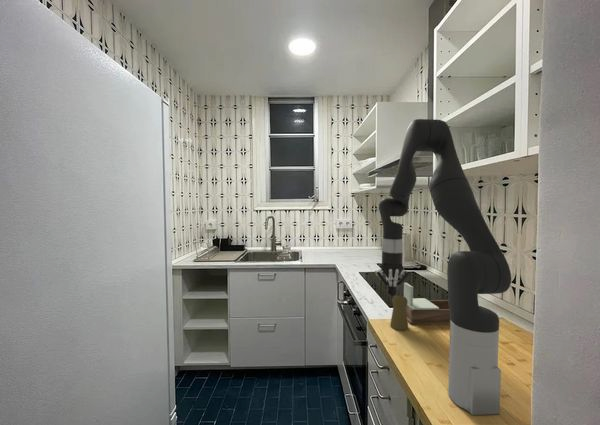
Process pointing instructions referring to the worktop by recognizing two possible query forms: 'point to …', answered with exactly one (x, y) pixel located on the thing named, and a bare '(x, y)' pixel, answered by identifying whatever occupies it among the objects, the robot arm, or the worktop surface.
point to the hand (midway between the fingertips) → (391, 295)
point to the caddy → (430, 314)
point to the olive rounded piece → (399, 313)
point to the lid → (417, 300)
